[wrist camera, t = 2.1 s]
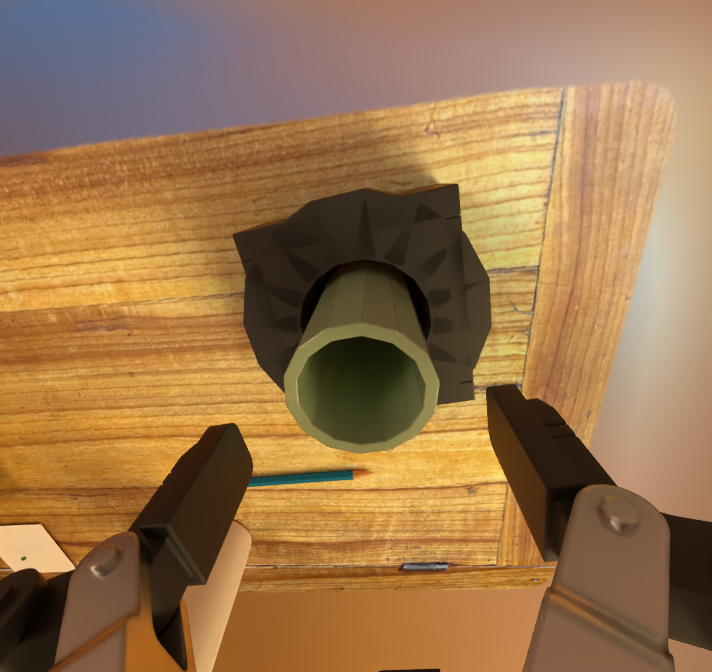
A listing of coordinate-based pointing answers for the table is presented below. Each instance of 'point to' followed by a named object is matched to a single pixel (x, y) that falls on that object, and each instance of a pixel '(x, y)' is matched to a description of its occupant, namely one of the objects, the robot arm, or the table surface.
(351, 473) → the pencil
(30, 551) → the coaster
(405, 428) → the cup
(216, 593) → the mug
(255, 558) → the table surface
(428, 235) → the dark brown carved ring
